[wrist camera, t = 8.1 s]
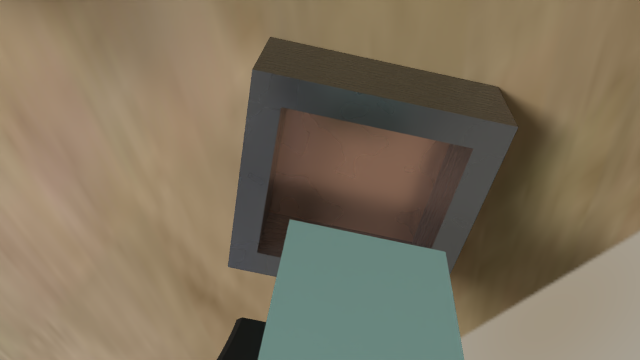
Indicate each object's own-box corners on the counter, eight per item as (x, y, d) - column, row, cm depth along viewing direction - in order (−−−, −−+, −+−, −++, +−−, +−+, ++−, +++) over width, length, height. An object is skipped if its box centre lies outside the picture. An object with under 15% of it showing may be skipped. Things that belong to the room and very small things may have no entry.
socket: (427, 256, 22) (433, 309, 20) (244, 218, 22) (227, 266, 19) (498, 87, 18) (518, 126, 15) (270, 36, 17) (252, 69, 15)
